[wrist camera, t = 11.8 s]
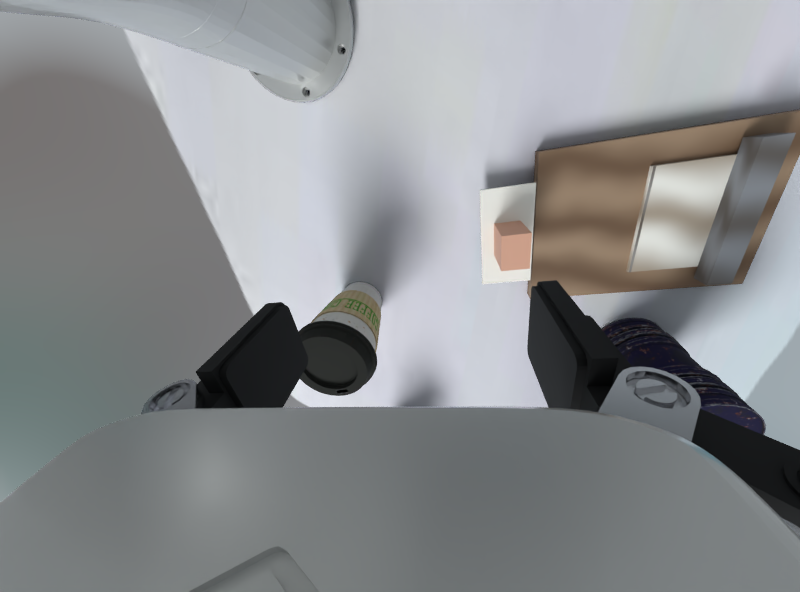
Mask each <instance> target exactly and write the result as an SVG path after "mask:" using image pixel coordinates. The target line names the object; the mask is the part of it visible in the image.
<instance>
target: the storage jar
mask: <svg viewBox="0 0 800 592" xmlns="http://www.w3.org/2000/svg"><path fill="white" fill-rule="evenodd" d="M602 330H603V332H604V333H605V334H606V335H607V336H608V338H609V339H610V340H611V341H612V343H613V344H614V345H615V346H616V347H617V349H618V350H619V351H620V352H621V353H622V355H623V356H624V357H625V358H626V359H627V361H628V362H629V363H630V364H631V366H632V367H650V368H655V369H659V370H663V371H666V372H668V373H671V374H673V375H675V376H677V377H679V378H681V379H682V380H684V381H686V382H687V383H688V384H689V385H690V386H692V387H693V388H694V389H695V390H696V392H697V393H698V395H699V396H700V401H701V406H700V409H702V410H705V411H707V412H710V413H712V414H714V415H717V416H719V417H722V418H724V419H726V420H729V421H731V422H733V423H736V424H738V425H741V426H743V427H745V428H748V429H750V430H753V431H755V432H757V433H760V434H762V435H764V433H765V422H764V420H763V418H762V417H761V416H760V415H759V414H758V413H757V412H755V411H754V410H753V409H752V408H751V407H749V406H748V405H747V404H746V403H745V402H744V401H743V400H742V399H741V398H740V397H739V396H738V394H737V393H736V392H734V391H733V390H732V389H731V388H730V387H729V386H727V385H726V384H725V383H723V382H722V381H721V379H720V378H719V377H717V376H716V375H714V374H712V373H711V372H710V371H708V370H706V369H703V368H702V367H701V366H700V365H699V364H698V363H697V362H695V361H694V360H693V359H692V358H691V357H690V355H689V353H688V352H687V351H686V350H685V349H684V348H683V347H682V346H681V345H680V344H679V343H678V342H677V341H676V340H675V339H674V338H673V337H672V336H670V335H669V334H668V333H666V332H664V331H663V330H662V329H661V328H660V327H659V326H658V325H657V324H655V323H654V322H652V321H650V320H646V319H642V318H627V319H622V320H618V321H615V322H613V323H610V324H609V325H607V326H605V327H603V328H602Z"/></svg>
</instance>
